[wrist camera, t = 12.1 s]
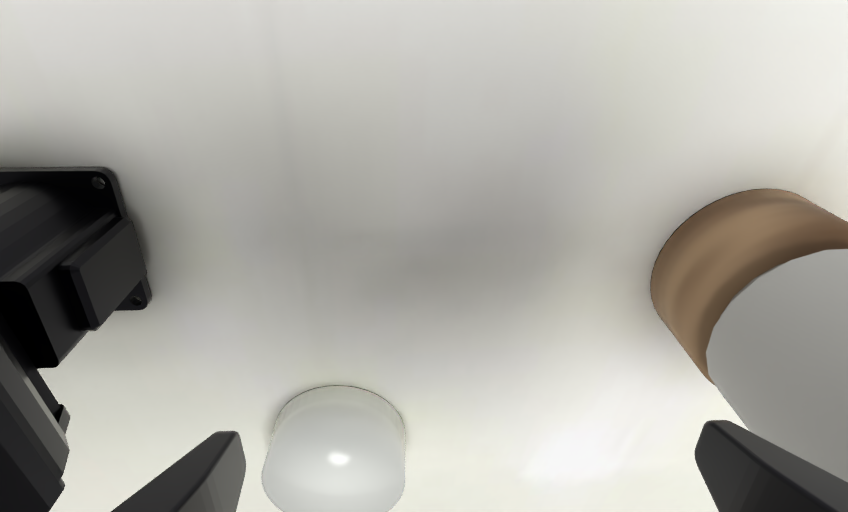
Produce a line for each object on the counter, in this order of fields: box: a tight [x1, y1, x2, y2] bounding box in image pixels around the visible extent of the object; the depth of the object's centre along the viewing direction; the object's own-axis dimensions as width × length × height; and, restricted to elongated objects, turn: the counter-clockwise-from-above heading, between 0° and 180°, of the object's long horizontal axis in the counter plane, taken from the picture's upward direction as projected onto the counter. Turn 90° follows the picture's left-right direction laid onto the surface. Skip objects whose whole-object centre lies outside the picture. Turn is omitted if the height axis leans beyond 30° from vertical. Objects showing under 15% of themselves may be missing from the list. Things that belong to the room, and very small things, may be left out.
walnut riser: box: [651, 189, 848, 386], centre depth 22 cm, size 8×8×4 cm
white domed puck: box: [261, 386, 405, 512], centre depth 27 cm, size 7×7×3 cm
